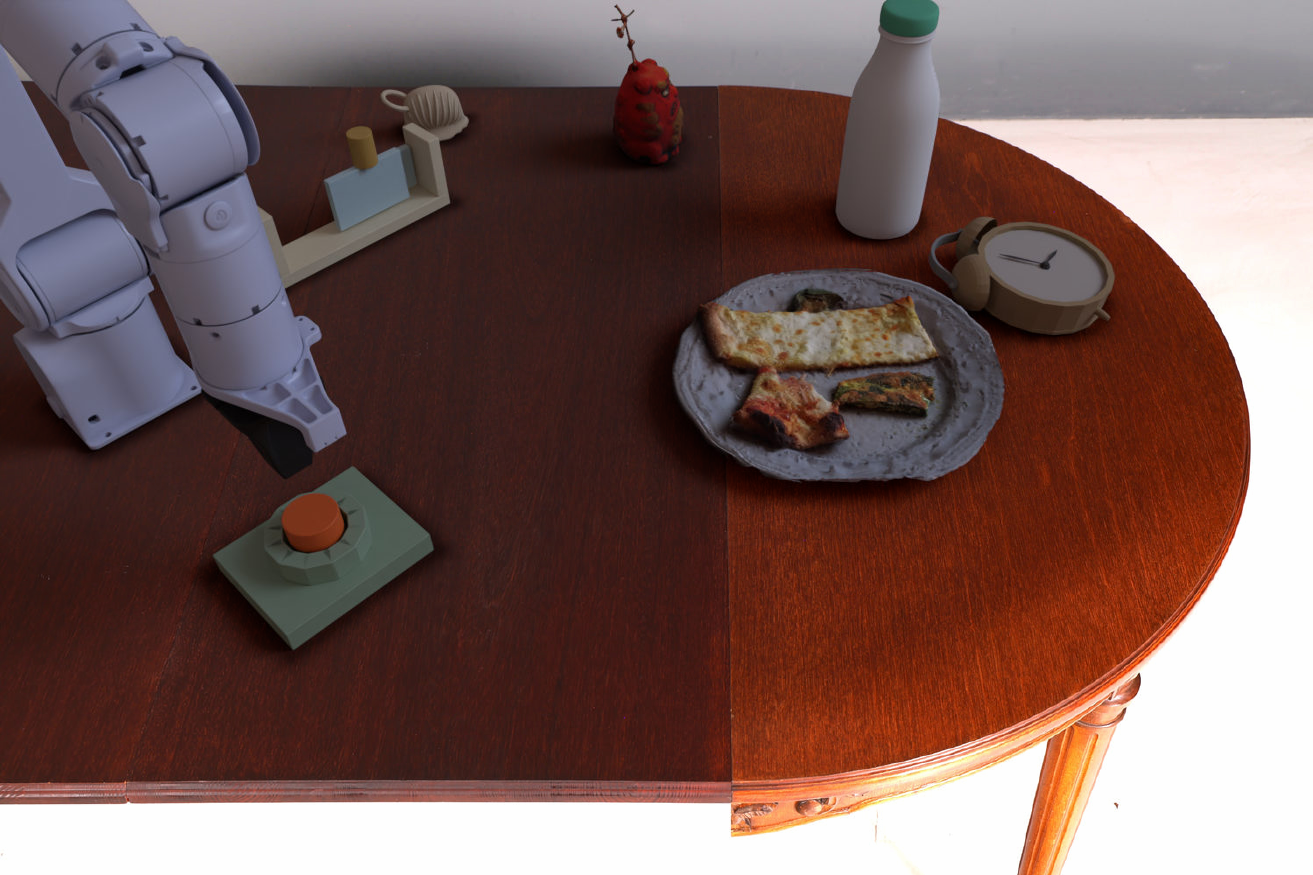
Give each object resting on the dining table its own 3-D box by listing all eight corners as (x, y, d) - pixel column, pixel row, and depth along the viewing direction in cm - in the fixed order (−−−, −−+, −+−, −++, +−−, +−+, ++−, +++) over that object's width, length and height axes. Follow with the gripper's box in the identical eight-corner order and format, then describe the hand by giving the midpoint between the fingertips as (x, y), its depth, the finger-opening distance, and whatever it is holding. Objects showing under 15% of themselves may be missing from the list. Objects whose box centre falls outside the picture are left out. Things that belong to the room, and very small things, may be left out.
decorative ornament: (472, 137, 108) (465, 89, 104) (390, 148, 107) (380, 100, 103) (468, 118, 111) (460, 70, 107) (388, 128, 110) (378, 80, 106)
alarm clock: (1119, 320, 82) (935, 263, 83) (1090, 364, 86) (914, 309, 87) (1117, 239, 90) (948, 187, 91) (1090, 283, 93) (928, 232, 94)
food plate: (672, 499, 74) (672, 465, 71) (671, 293, 90) (671, 259, 87) (1028, 498, 73) (1040, 464, 71) (963, 291, 90) (971, 258, 87)
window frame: (282, 290, 91) (259, 222, 86) (258, 271, 93) (234, 203, 88) (450, 203, 100) (438, 137, 95) (425, 187, 102) (412, 122, 97)
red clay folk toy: (680, 171, 103) (680, 22, 93) (609, 169, 104) (602, 21, 93) (684, 131, 109) (685, -14, 98) (617, 129, 109) (611, -15, 98)
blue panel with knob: (345, 234, 94) (324, 155, 88) (332, 225, 95) (310, 146, 89) (414, 200, 98) (398, 122, 92) (400, 191, 99) (383, 113, 93)
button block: (293, 650, 66) (278, 618, 63) (220, 570, 70) (203, 537, 67) (434, 550, 71) (425, 517, 68) (357, 481, 75) (346, 448, 73)
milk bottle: (924, 242, 95) (969, 26, 80) (838, 242, 95) (868, 27, 80) (911, 194, 100) (951, -16, 86) (830, 194, 100) (856, -15, 86)
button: (308, 562, 66) (300, 545, 65) (277, 531, 68) (270, 514, 67) (355, 530, 68) (349, 513, 67) (324, 501, 70) (318, 484, 69)
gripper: (369, 317, 53) (416, 492, 63) (224, 206, 60) (286, 378, 70) (246, 386, 50) (315, 559, 60) (107, 259, 57) (189, 432, 67)
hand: (293, 465), depth 65 cm, fingers closed
